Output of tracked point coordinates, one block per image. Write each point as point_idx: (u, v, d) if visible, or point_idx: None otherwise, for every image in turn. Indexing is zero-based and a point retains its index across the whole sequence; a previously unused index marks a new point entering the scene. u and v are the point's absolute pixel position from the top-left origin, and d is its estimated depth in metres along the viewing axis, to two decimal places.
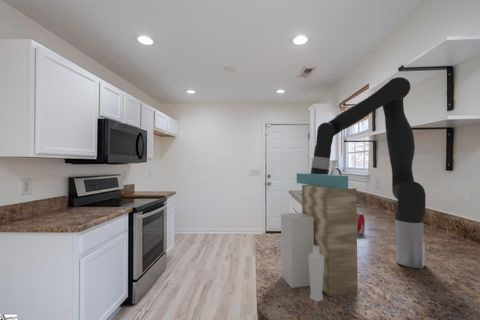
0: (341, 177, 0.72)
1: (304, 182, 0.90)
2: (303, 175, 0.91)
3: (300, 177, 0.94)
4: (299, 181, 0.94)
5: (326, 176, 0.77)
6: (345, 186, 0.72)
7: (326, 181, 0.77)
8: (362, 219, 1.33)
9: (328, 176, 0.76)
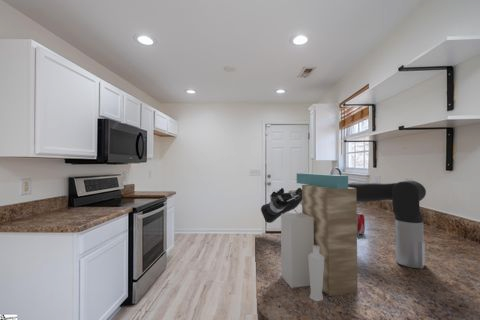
0: (341, 177, 0.72)
1: (304, 182, 0.90)
2: (303, 175, 0.91)
3: (300, 177, 0.94)
4: (299, 181, 0.94)
5: (326, 176, 0.77)
6: (345, 186, 0.72)
7: (326, 181, 0.77)
8: (362, 219, 1.33)
9: (328, 176, 0.76)
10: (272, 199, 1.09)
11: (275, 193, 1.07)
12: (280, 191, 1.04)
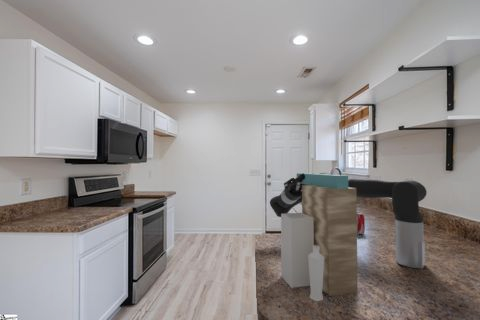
0: (341, 177, 0.72)
1: (304, 182, 0.90)
2: None
3: None
4: None
5: (326, 176, 0.77)
6: (345, 186, 0.72)
7: (326, 181, 0.77)
8: (362, 219, 1.33)
9: (328, 176, 0.76)
10: (288, 187, 0.95)
11: (294, 180, 0.94)
12: (300, 177, 0.91)
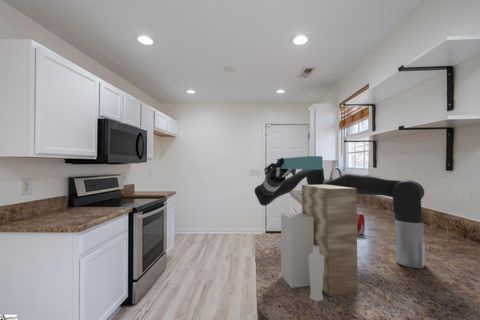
0: (315, 158, 0.70)
1: (283, 167, 0.89)
2: None
3: None
4: None
5: (301, 158, 0.75)
6: (319, 167, 0.70)
7: (301, 163, 0.75)
8: (362, 219, 1.33)
9: (303, 158, 0.74)
10: (268, 172, 0.94)
11: (274, 165, 0.92)
12: (279, 161, 0.89)
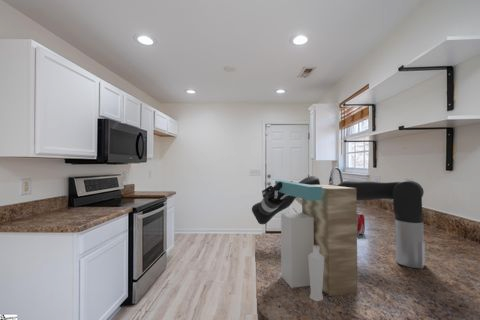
0: (314, 188, 0.68)
1: (281, 191, 0.86)
2: None
3: None
4: None
5: (300, 186, 0.73)
6: (318, 198, 0.68)
7: (299, 192, 0.73)
8: (362, 219, 1.33)
9: (302, 187, 0.71)
10: (266, 195, 0.91)
11: (272, 188, 0.89)
12: (278, 185, 0.87)
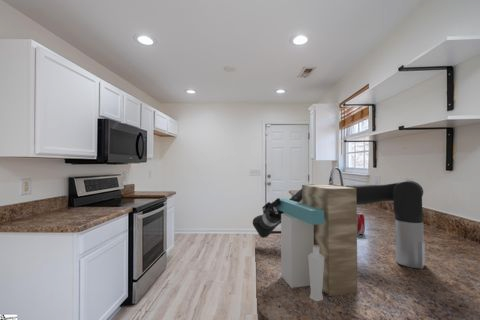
0: (316, 212, 0.67)
1: (283, 210, 0.86)
2: (282, 202, 0.87)
3: None
4: (278, 208, 0.90)
5: (302, 209, 0.72)
6: (321, 222, 0.68)
7: (302, 214, 0.72)
8: (362, 219, 1.33)
9: (304, 209, 0.71)
10: (265, 211, 0.91)
11: (270, 204, 0.89)
12: (276, 202, 0.86)
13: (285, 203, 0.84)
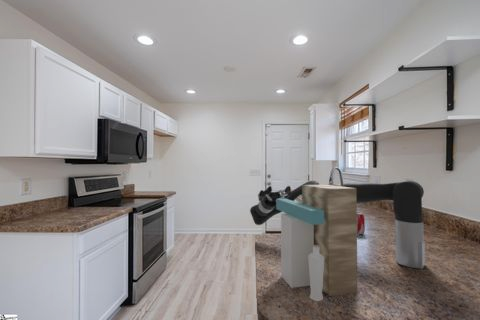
0: (316, 212, 0.67)
1: (283, 210, 0.86)
2: (282, 202, 0.87)
3: (279, 203, 0.89)
4: (278, 208, 0.90)
5: (302, 209, 0.72)
6: (321, 222, 0.68)
7: (302, 214, 0.72)
8: (362, 219, 1.33)
9: (304, 209, 0.71)
10: (260, 198, 1.03)
11: (263, 192, 1.01)
12: (268, 189, 0.98)
13: (285, 203, 0.84)
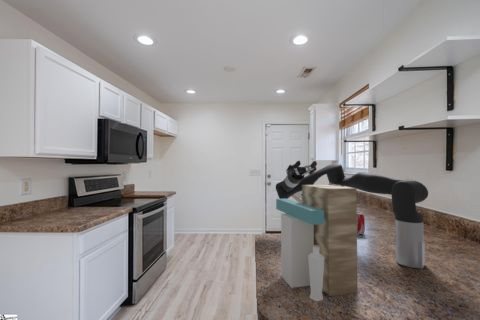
0: (316, 212, 0.67)
1: (283, 210, 0.86)
2: (282, 202, 0.87)
3: (279, 203, 0.89)
4: (278, 208, 0.90)
5: (302, 209, 0.72)
6: (321, 222, 0.68)
7: (302, 214, 0.72)
8: (362, 219, 1.33)
9: (304, 209, 0.71)
10: (288, 172, 1.15)
11: (291, 166, 1.13)
12: (297, 163, 1.10)
13: (285, 203, 0.84)
